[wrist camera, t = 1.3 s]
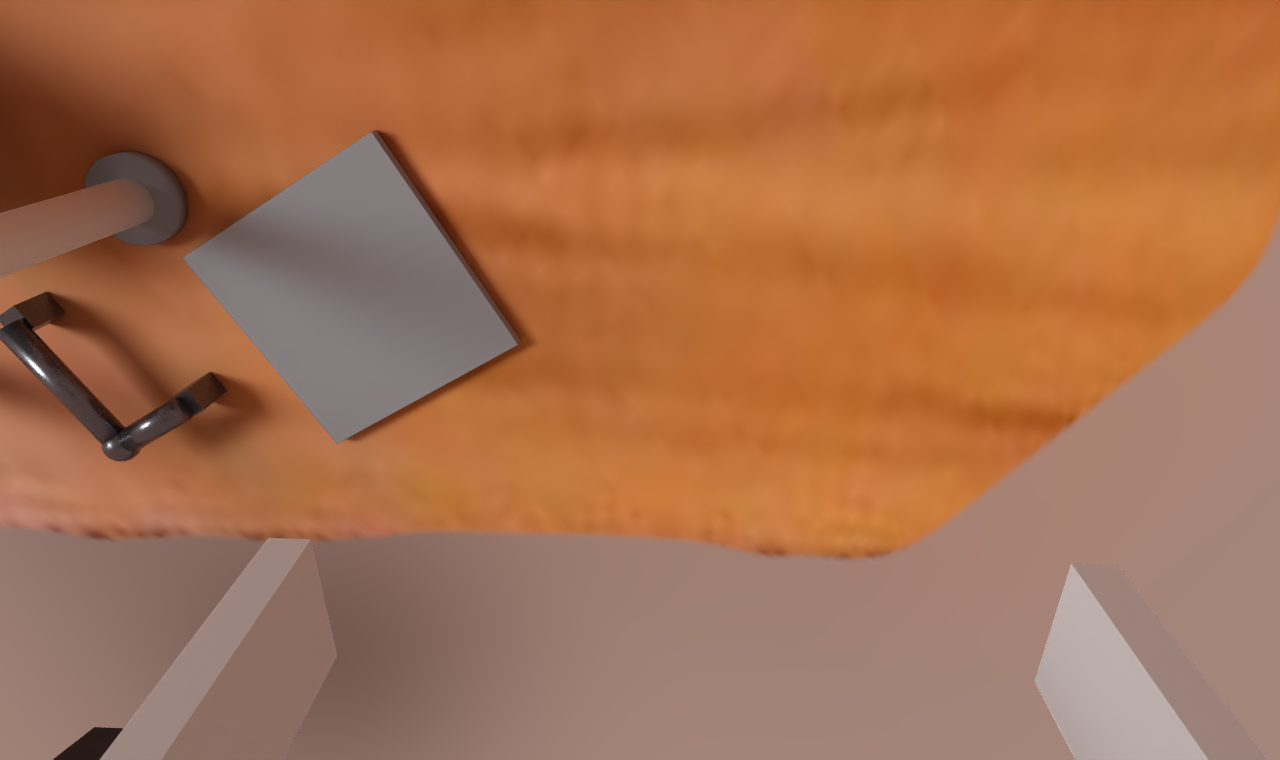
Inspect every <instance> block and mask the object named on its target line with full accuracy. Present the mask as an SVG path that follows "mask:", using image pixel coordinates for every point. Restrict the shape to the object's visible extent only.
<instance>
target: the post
mask: <svg viewBox="0 0 1280 760" xmlns="http://www.w3.org/2000/svg"><path fill="white" fill-rule="evenodd" d="M187 211H188V206H187V199H186V195H185V192H184V190H183V187H182V185H181V184H180V182H179V180H178V179H177V177H176V176H175V175H174V173H173V172H172V171H171V170H170V169H169V168H168V167H167V166H166V165H164V164H163V163H162V162H160V161H159V160H157V159H156V158H154V157H152V156H150V155H147V154H144V153H141V152H135V151H124V152H120V153H116V154H111V155H107V156H105V157H102V158H100V159H99V160H97V161H96V162H95V163H94V164H93V165H92V166H91V167H90V169H89V171H88V173H87V176H86V179H85V189H82V190H78V191H75V192H71V193H68V194H64V195H61V196H57V197H54V198H50V199H47V200H43V201H40V202H36V203H33V204H30V205H26V206H23V207H19V208H16V209H12V210H9V211H5V212H2V213H0V278H1V277H4V276H7V275H9V274H12V273H15V272H17V271H20V270H22V269H25V268H28V267H30V266H33V265H35V264H38V263H41V262H43V261H46V260H48V259H51V258H54V257H56V256H59V255H61V254H64V253H67V252H69V251H72V250H74V249H77V248H80V247H82V246H85V245H87V244H90V243H93V242H95V241H98V240H100V239H103V238H106V237H108V236H111V235H113V236H114V237H116V238H118V239H120V240H122V241H124V242H126V243H129V244H133V245H138V246H150V245H155V244H157V243H160V242H162V241H165V240H167V239H169V238H171V237H173V236H175V235H176V234H177V233H178V232H179V231H180V230H181V229H182V227H183V226H184V224H185V221H186V218H187Z"/></svg>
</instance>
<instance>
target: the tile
mask: <svg viewBox="0 0 1280 760" xmlns="http://www.w3.org/2000/svg"><path fill="white" fill-rule="evenodd" d="M183 259H184V261H185V262H186V263H187V264H188V265H189V267H190V268H191V269H192V270H193V271H194V273H195V274H196V275H197V276H198V277H199V279H200V280H201V281H202V282H203V283H204V285H205V286H206V287H207V288H208V289H209V291H210V292H211V293H212V294H213V295H214V297H215V298H216V299H217V300H218V301H219V303H220V304H221V305H222V306H223V307H224V309H225V310H226V311H227V312H228V313H229V315H230V316H231V317H232V318H233V319H234V321H235V322H236V323H237V324H238V325H239V327H240V328H241V329H242V330H243V331H244V333H245V334H246V335H247V336H248V337H249V339H250V340H251V341H252V342H253V343H254V345H255V346H256V347H257V348H258V349H259V351H260V352H261V353H262V354H263V355H264V357H265V358H266V359H267V360H268V361H269V363H270V364H271V365H272V366H273V367H274V369H275V370H276V371H277V372H278V373H279V375H280V376H281V377H282V378H283V379H284V381H285V382H286V383H287V384H288V385H289V387H290V388H291V389H292V390H293V391H294V393H295V394H296V395H297V396H298V397H299V399H300V400H301V401H302V402H303V403H304V405H305V406H306V407H307V408H308V409H309V411H310V412H311V413H312V414H313V415H314V417H315V418H316V419H317V420H318V421H319V423H320V424H321V425H322V426H323V427H324V429H325V430H326V431H327V432H328V433H329V435H330V436H331V437H332V438H333V439H334V441H335V442H336V443H337V444H338V443H339V442H341V441H343V440H345V439H347V438H349V437H350V436H352V435H354V434H356V433H358V432H360V431H361V430H363V429H365V428H367V427H369V426H370V425H372V424H374V423H376V422H378V421H380V420H381V419H383V418H385V417H387V416H389V415H391V414H392V413H394V412H396V411H398V410H400V409H402V408H403V407H405V406H407V405H409V404H411V403H413V402H414V401H416V400H418V399H420V398H422V397H423V396H425V395H427V394H429V393H431V392H433V391H434V390H436V389H438V388H440V387H442V386H444V385H445V384H447V383H449V382H451V381H453V380H455V379H456V378H458V377H460V376H462V375H464V374H466V373H467V372H469V371H471V370H473V369H475V368H477V367H478V366H480V365H482V364H484V363H486V362H487V361H489V360H491V359H493V358H495V357H497V356H498V355H500V354H502V353H504V352H506V351H508V350H509V349H511V348H513V347H515V346H517V345H518V344H519V342H520V339H519V337H518V336H517V334H516V333H515V332H514V330H513V329H512V327H511V326H510V324H509V323H508V321H507V320H506V318H505V317H504V316H503V314H502V313H501V311H500V310H499V308H498V307H497V305H496V304H495V302H494V301H493V299H492V298H491V297H490V295H489V294H488V292H487V291H486V289H485V288H484V286H483V285H482V283H481V282H480V281H479V279H478V278H477V276H476V275H475V273H474V272H473V270H472V269H471V267H470V266H469V264H468V263H467V262H466V260H465V259H464V257H463V256H462V254H461V253H460V251H459V250H458V248H457V247H456V246H455V244H454V243H453V241H452V240H451V238H450V237H449V235H448V234H447V232H446V231H445V229H444V228H443V227H442V225H441V224H440V222H439V221H438V219H437V218H436V216H435V215H434V213H433V212H432V211H431V209H430V208H429V206H428V205H427V203H426V202H425V200H424V199H423V197H422V196H421V195H420V193H419V192H418V190H417V189H416V187H415V186H414V184H413V183H412V181H411V180H410V178H409V177H408V176H407V174H406V173H405V171H404V170H403V168H402V167H401V165H400V164H399V162H398V161H397V160H396V158H395V157H394V155H393V154H392V152H391V151H390V149H389V148H388V146H387V145H386V143H385V142H384V141H383V139H382V138H381V136H380V135H379V133H378V132H377V130H375V131H372V132H370V133H369V134H367V135H366V136H364V137H363V138H361V139H360V140H358V141H357V142H355V143H354V144H352V145H351V146H349V147H348V148H346V149H345V150H343V151H342V152H340V153H339V154H337V155H336V156H334V157H333V158H331V159H330V160H328V161H327V162H325V163H324V164H322V165H321V166H319V167H318V168H316V169H315V170H313V171H312V172H310V173H309V174H307V175H306V176H304V177H303V178H301V179H300V180H298V181H297V182H295V183H294V184H292V185H291V186H289V187H288V188H286V189H285V190H283V191H282V192H280V193H279V194H277V195H276V196H274V197H273V198H271V199H270V200H268V201H267V202H265V203H264V204H262V205H261V206H259V207H258V208H256V209H255V210H253V211H252V212H250V213H249V214H247V215H246V216H244V217H243V218H241V219H240V220H238V221H237V222H235V223H234V224H232V225H231V226H229V227H228V228H226V229H225V230H223V231H222V232H220V233H219V234H217V235H216V236H214V237H213V238H211V239H210V240H208V241H207V242H205V243H204V244H202V245H201V246H199V247H198V248H196V249H195V250H193V251H192V252H190V253H189V254H187V255H186V256H185V257H183Z"/></svg>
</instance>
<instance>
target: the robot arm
mask: <svg viewBox="0 0 1280 760" xmlns="http://www.w3.org/2000/svg"><path fill="white" fill-rule="evenodd" d="M336 657H337V654H336V649H335V645H334V640H333V636H332V631H331V627H330V623H329V618H328V614H327V609H326V605H325V600H324V596H323V592H322V587H321V582H320V578H319V573H318V569H317V565H316V560H315V556H314V552H313V547H312V542H311V539H281V538H268V539H267V540H266V542H265V543H264V544H263V546H262V547H261V548H260V550H259V551H258V552H257V554H256V555H255V556H254V557H253V559H252V560H251V561H250V563H249V564H248V565H247V567H246V568H245V569H244V571H243V572H242V573H241V575H240V576H239V577H238V578H237V580H236V581H235V582H234V584H233V585H232V586H231V588H230V589H229V590H228V592H227V593H226V594H225V596H224V597H223V598H222V599H221V601H220V602H219V603H218V605H217V606H216V607H215V609H214V610H213V611H212V613H211V614H210V615H209V617H208V618H207V619H206V621H205V622H204V623H203V625H202V626H201V627H200V628H199V630H198V631H197V632H196V634H195V635H194V636H193V638H192V639H191V640H190V642H189V643H188V644H187V646H186V647H185V648H184V649H183V651H182V652H181V653H180V655H179V656H178V657H177V659H176V660H175V661H174V663H173V664H172V665H171V667H170V668H169V669H168V671H167V672H166V673H165V675H164V676H163V677H162V679H161V680H160V681H159V682H158V684H157V685H156V686H155V688H154V689H153V690H152V692H151V693H150V694H149V696H148V697H147V698H146V700H145V701H144V702H143V703H142V705H141V706H140V707H139V709H138V710H137V711H136V713H135V714H134V715H133V717H132V718H131V719H130V721H129V722H128V723H127V724H126V726H125V727H124V728H100V727H99V728H98V727H94V728H93V729H92V730H90V731H89V732H88V733H86V734H85V735H84V736H83V737H81V738H80V739H79V740H78V741H76V742H75V743H74V744H72V745H71V746H70V747H68V748H67V749H66V750H65V751H63V752H62V753H61V754H59V755H58V756H57V757H56V758H54V760H283V759H284V757H285V755H286V753H287V751H288V749H289V747H290V745H291V743H292V741H293V739H294V738H295V736H296V734H297V732H298V730H299V728H300V726H301V724H302V722H303V720H304V718H305V716H306V714H307V712H308V711H309V708H310V707H311V705H312V703H313V701H314V699H315V697H316V695H317V693H318V691H319V689H320V687H321V686H322V684H323V681H324V680H325V678H326V676H327V674H328V672H329V670H330V668H331V666H332V664H333V662H334V661H335V658H336ZM1035 683H1036V686H1037V687H1038V689H1039V691H1040V693H1041V695H1042V697H1043V699H1044V701H1045V703H1046V705H1047V706H1048V708H1049V710H1050V712H1051V714H1052V716H1053V718H1054V719H1055V722H1056V724H1057V726H1058V728H1059V730H1060V732H1061V733H1062V735H1063V737H1064V739H1065V741H1066V743H1067V745H1068V746H1069V749H1070V751H1071V753H1072V755H1073V756H1074V758H1075V760H1269V759H1268V758H1267V757H1266V755H1265V754H1264V753H1263V751H1262V750H1261V749H1260V748H1259V746H1258V745H1257V744H1256V742H1255V741H1254V740H1253V739H1252V737H1251V736H1250V735H1249V733H1248V732H1247V731H1246V730H1245V728H1244V727H1243V726H1242V724H1241V723H1240V722H1239V721H1238V719H1237V718H1236V717H1235V716H1234V714H1233V713H1232V712H1231V710H1230V709H1229V708H1228V706H1227V705H1226V704H1225V703H1224V701H1223V700H1222V699H1221V698H1220V696H1219V695H1218V694H1217V692H1216V691H1215V690H1214V688H1213V687H1212V686H1211V684H1210V683H1209V682H1208V681H1207V679H1206V678H1205V677H1204V675H1203V674H1202V673H1201V672H1200V670H1199V669H1198V668H1197V667H1196V665H1195V664H1194V663H1193V661H1192V660H1191V659H1190V658H1189V656H1188V655H1187V654H1186V652H1185V651H1184V650H1183V648H1182V647H1181V646H1180V645H1179V643H1178V642H1177V641H1176V639H1175V638H1174V637H1173V636H1172V635H1171V633H1170V632H1169V631H1168V629H1167V628H1166V627H1165V625H1164V624H1163V623H1162V622H1161V620H1160V619H1159V618H1158V616H1157V615H1156V614H1155V613H1154V611H1153V610H1152V609H1151V607H1150V606H1149V605H1148V604H1147V602H1146V601H1145V600H1144V598H1143V597H1142V596H1141V594H1140V593H1139V592H1138V591H1137V589H1136V588H1135V587H1134V585H1133V584H1132V583H1131V582H1130V580H1129V579H1128V578H1127V576H1126V575H1125V574H1124V573H1123V571H1122V570H1121V569H1120V567H1119V566H1118V565H1101V564H1099V565H1098V564H1071V567H1070V570H1069V573H1068V576H1067V580H1066V583H1065V586H1064V589H1063V593H1062V595H1061V599H1060V602H1059V605H1058V608H1057V611H1056V615H1055V618H1054V621H1053V624H1052V628H1051V631H1050V634H1049V637H1048V640H1047V643H1046V647H1045V650H1044V653H1043V656H1042V659H1041V662H1040V666H1039V669H1038V672H1037V675H1036V678H1035Z"/></svg>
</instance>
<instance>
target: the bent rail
mask: <svg viewBox="0 0 1280 760" xmlns="http://www.w3.org/2000/svg"><path fill="white" fill-rule="evenodd" d="M64 313H65V311H64V310H63V309H62V308H61V307H60V306H59V305H58V304H57V303H56V302H55V301H54V299H53V298H52V297H51V296H50V295H49V294H48V293H47V292H44V293H42V294H40V295H37V296H35V297H33V298H31V299H28V300H26V301H24V302H21V303H19V304H17V305H14V306H13V307H11V308H10V309H8V310H7V311H6V312H4V313H3V314H1V315H0V323H1V324H2V325H3V326H4V327H3V328H1V329H0V340H1V341H2V342H3V343H4V344H5V345H6V346H7V347H8V348H9V349H10V350H11V351H12V352H13V353H14V354H15V355H16V356H17V357H18V358H19V359H20V360H21V361H22V362H23V364H24V365H25V366H26V367H27V368H28V369H29V370H30V371H31V372H32V373H33V374H34V375H35V376H36V377H37V378H38V379H39V380H40V381H41V382H42V383H43V384H44V385H45V386H46V387H47V388H48V389H49V390H50V391H51V392H52V393H53V394H54V395H55V397H56V398H57V399H58V400H59V401H60V402H61V403H62V404H63V405H64V406H65V407H66V408H67V409H68V410H69V411H70V412H71V413H72V414H73V415H74V416H75V417H76V418H77V419H78V420H79V421H80V422H81V423H82V424H83V425H84V426H85V427H86V428H87V429H88V431H89V432H90V433H91V434H92V435H93V436H94V437H95V438H96V439H97V440H98V441H99V442H100V443H101V444H102V449H103V452H104V454H105V455H106V456H107V457H108V458H110V459H112V460H115V461H127V460H130V459H132V458H134V457H135V456H136V455H137V454H138V453H139V452H140V450H141V448H143V447H144V446H146V445H148V444H149V443H151V442H153V441H154V440H156V439H158V438H159V437H161V436H163V435H164V434H166V433H168V432H170V431H171V430H173V429H175V428H176V427H178V426H180V425H181V424H183V423H185V422H186V421H188V420H190V419H191V418H192V417H193V416H194V415H196V414H198V413H200V412H201V411H203V410H205V409H206V408H207V407H208V406H209V405H211V404H212V403H213V402H214V401H215V400H217V399H218V398H219V397H220V396H221V395H223V394H224V393H225V392H226V390H225V389H224V387H223V386H222V385H221V384H220V383H219V382H218V381H217V379H216V378H215V377H214V376H213V375H212V374H211V373H210V372H209V373H207V374H206V375H204V376H203V377H201V378H199V379H198V380H196V381H194V382H193V383H191V384H190V385H189V386H187V387H186V388H185V389H183V390H182V391H181V392H179V393H178V394H177V395H175V396H174V397H173V398H171V399H170V400H169V401H168V402H167V403H165V404H163V405H162V406H160V407H158V408H157V409H155V410H153V411H152V412H150V413H149V414H147V415H145V416H144V417H142V418H140V419H139V420H137V421H135V422H134V423H132V424H130V425H129V426H127V427H124V426H123V425H122V424H121V423H120V422H119V420H118V419H117V418H116V417H115V416H114V415H113V414H112V413H111V412H110V411H109V410H108V409H107V408H106V407H105V406H104V405H103V404H102V403H101V401H100V400H99V399H98V398H97V397H96V396H95V395H94V394H93V393H92V392H91V391H90V390H89V389H88V388H87V387H86V386H85V385H84V384H83V382H82V381H81V380H80V379H79V378H78V377H77V376H76V375H75V374H74V373H73V372H72V371H71V370H70V369H69V368H68V367H67V366H66V365H65V363H64V362H63V361H62V360H61V359H60V358H59V357H58V356H57V355H56V354H55V353H54V352H53V351H52V350H51V349H50V348H49V347H48V346H47V344H46V343H45V342H44V341H43V340H42V339H41V338H40V337H39V336H38V335H37V334H36V333H35V332H34V331H35V330H37V329H39V328H41V327H43V326H45V325H47V324H49V323H51V322H52V321H54V320H55V319H57V318H58V317H60V316H61V315H63V314H64Z"/></svg>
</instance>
